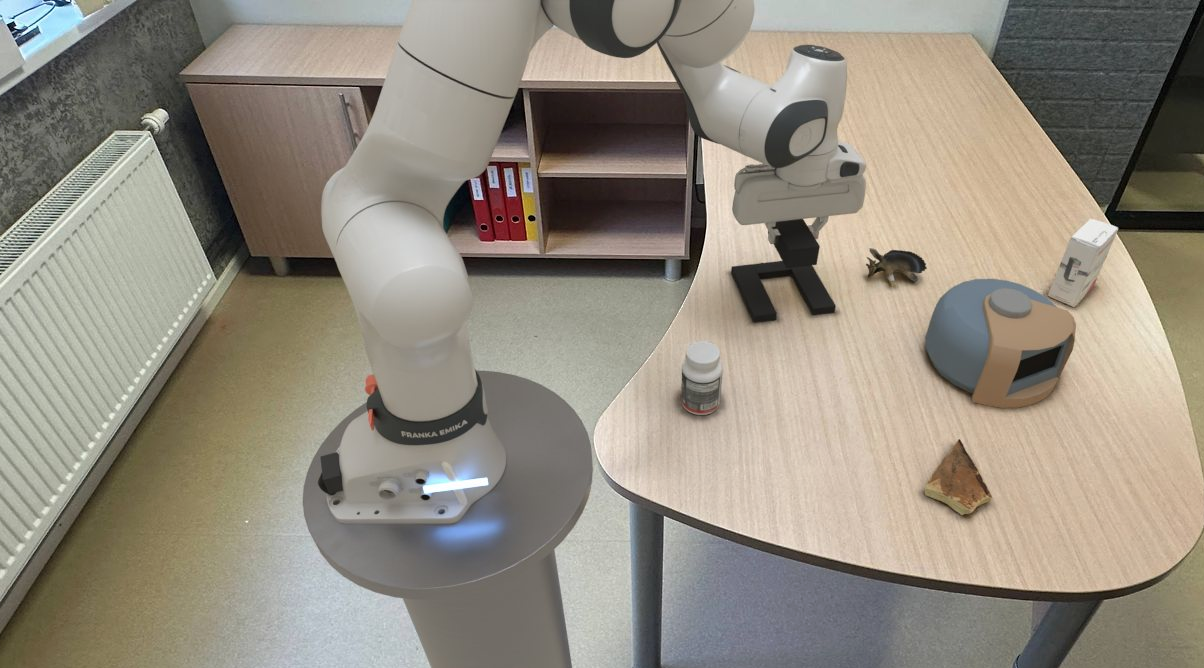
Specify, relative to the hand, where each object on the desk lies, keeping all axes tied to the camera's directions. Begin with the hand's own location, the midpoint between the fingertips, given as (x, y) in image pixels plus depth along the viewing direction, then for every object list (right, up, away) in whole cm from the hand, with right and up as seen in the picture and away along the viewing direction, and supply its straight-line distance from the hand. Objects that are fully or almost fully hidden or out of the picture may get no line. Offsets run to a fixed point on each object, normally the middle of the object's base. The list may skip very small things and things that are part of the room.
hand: (793, 239), depth 125 cm
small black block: (0, -1, +1) cm, 2 cm away
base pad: (-1, -7, +9) cm, 12 cm away
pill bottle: (-15, -26, -10) cm, 32 cm away
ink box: (+49, -7, +10) cm, 51 cm away
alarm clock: (+30, -20, -3) cm, 36 cm away
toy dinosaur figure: (+19, -5, +12) cm, 23 cm away
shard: (+17, -36, -21) cm, 45 cm away
